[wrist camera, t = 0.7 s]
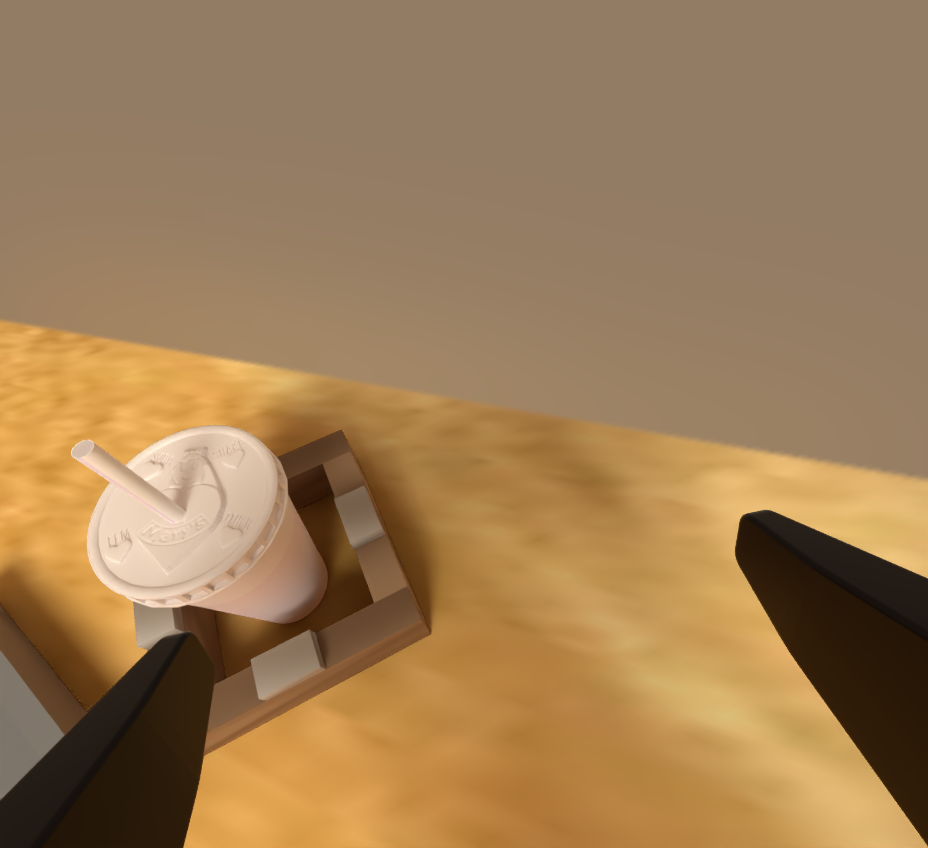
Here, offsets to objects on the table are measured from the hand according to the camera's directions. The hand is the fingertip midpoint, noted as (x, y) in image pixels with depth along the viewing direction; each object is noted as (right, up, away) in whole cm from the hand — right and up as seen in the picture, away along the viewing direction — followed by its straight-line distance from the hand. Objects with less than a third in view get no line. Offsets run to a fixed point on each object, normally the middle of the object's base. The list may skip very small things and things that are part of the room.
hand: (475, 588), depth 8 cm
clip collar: (-9, -5, +16) cm, 19 cm away
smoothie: (-9, -5, +16) cm, 19 cm away
